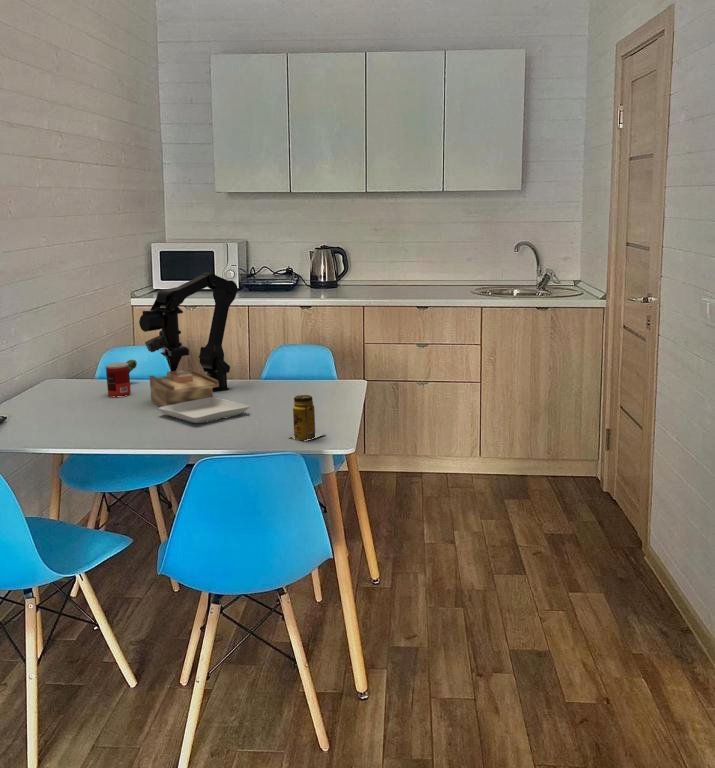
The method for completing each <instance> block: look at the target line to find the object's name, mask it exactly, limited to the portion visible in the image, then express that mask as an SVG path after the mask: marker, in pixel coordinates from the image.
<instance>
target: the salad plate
mask: <svg viewBox="0 0 715 768" xmlns="http://www.w3.org/2000/svg"><path fill="white" fill-rule="evenodd" d="M249 408H250V405H248V404H245V403H244V404H243V403H240V402H237V401H233V400H228V399H223V398H219V397H215V396H213V397H208V398H203V399H198V400H192V401H187V402H182V403H177V404H173V405H168V406H163V407H158V410H159V411H160V413H162V414H165V415H167V416H169V417H173V418H175V417H176V418H175V419H178V418H179V419H178V420H181V419H183V420H182V421H185V420H186V421H185V422H188V421H190V422H189V423H192V422H194V423H193V424H204V423H203V422H206V423H208V422H207V421H210V422H213V421H212V420H215V421H217V420H216V419H219V420H222V419H221V418H223V419H226V418H225V417H228V418H231V417H230V416H232V417H235V416H238V415H240V414H243V413H244V412H246V411H247V410H248V409H249Z"/></svg>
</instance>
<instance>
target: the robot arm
mask: <svg viewBox="0 0 715 768" xmlns="http://www.w3.org/2000/svg"><path fill="white" fill-rule="evenodd" d="M206 288H208V289H210V290H212V297H213V299H214V300H213V301H214V304H215V305H214V309H213V314H212V321H211V326H210V331H209V335H208V341H207V344H206V345H205V346H201V347H200V348H199V349H200V351H199V355H198V358H199V361H198V362H199V364H200V366H201V367H202V370H203V372H204V373H206V375H207V376H209V377H211V378H214V379H216V380H218V381H219V387H214V388H212V390H213V392H217V391H218V392H219V391H225V390H229V389H230V387H228V380H227V379H228V377H227V375H228V373H230V371H231V366H230V365H229V364H228V363H227V362H226V361H225V352H224V349H223V340H224V335H225V329H226V325H227V319H228V315H229V309H230V306H231V305H232V304H233V302H234V300H236V296H237V292H238V289H239V287H238V285H237V283H236V282H235V281H234V280H228V279H225V278H223V277H221V276H219V275H217V274H215V273H213V272H203V273H202V274H201V275H199V276H197V277H195V278H193V279H191V280H188V281H187V282H185V283H182V284H181V285H179V286H176V287H170V288H167V289H166V288H165V289H162V290H160V291H158V292H157V294H156V299H155V300H154V302H153V304H152V307H151V308H150V310H142V315H140V317H139V320H138V324H139V327H140V329H141V330H142V331H143V332H145V333H146V332H153V331H159V332H158V334H159V335H157V336H155V337H153V338H150V339H148V340H146V341H144V344H145V346H146V349H147V351H148V352H150V353H155V352H157V351H159V350H162V352H160V354H161V355H162V356H163V357H164V358H165V359H166V362H167V364H168V367H169V370H170V371H177V370H178V367H179V363H180V361H181V359H182V357H184V356H189V355H190V349H189V347H187V346H185V345H183V344H182V342H181V341H180V335H182V331H181V330H180V327H179V325H180V324H179V314H183V313H184V311H183V310H182V309H181V308H180V307H179V306H180V305H182V304H183V303H184V301H185V299H187V298H188V297H190V296H192V295H194V294H196V293H197V292H200V291H201V290H204V289H206Z"/></svg>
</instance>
